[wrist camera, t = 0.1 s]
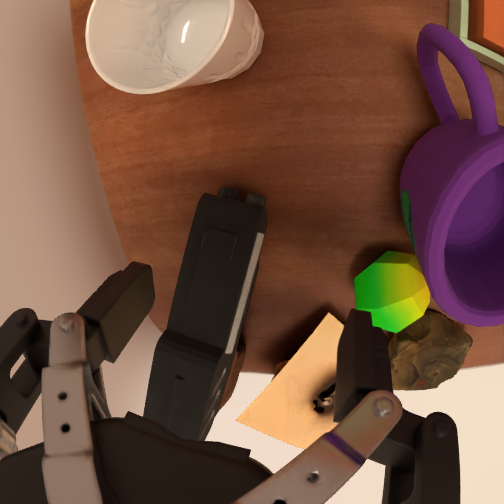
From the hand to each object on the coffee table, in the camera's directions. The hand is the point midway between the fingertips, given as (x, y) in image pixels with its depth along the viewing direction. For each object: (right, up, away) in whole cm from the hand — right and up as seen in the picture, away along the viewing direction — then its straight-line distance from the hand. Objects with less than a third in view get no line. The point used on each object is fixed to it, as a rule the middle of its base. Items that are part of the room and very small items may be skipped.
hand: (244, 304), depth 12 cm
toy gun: (-1, -4, +22) cm, 23 cm away
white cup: (-2, +18, +7) cm, 19 cm away
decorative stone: (+18, -5, +11) cm, 22 cm away
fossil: (+10, -12, +14) cm, 21 cm away
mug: (+15, +10, +7) cm, 19 cm away
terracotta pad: (+18, +19, 0) cm, 26 cm away
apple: (+9, -2, +13) cm, 16 cm away
